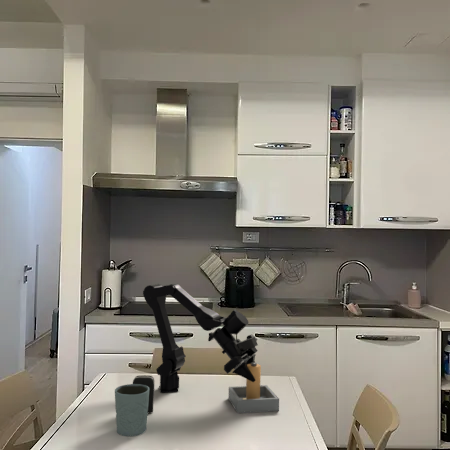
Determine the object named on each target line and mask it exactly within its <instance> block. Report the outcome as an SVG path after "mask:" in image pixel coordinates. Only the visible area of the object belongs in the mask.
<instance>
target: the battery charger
mask: <svg viewBox="0 0 450 450" xmlns="http://www.w3.org/2000/svg"><path fill="white" fill-rule="evenodd" d="M132 384H141V385H146V386H148V387H149V402H148V411H147V412H148V414H152V413H154V401H155V400H154V399H155V378H154V377H153V375H136V376H135V377H134V379H132Z"/></svg>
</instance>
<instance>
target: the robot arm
mask: <svg viewBox="0 0 450 450" xmlns="http://www.w3.org/2000/svg"><path fill="white" fill-rule="evenodd" d="M142 295H143V298H144V300H145V302H146V305H147V306H148V307H149V308H150V309H151V310H152V313H153V317H154V320H155V324H156V328H157V331H158V335H159V339H160V341H161V346H162V350H161V351H162V352H161V360H162V363H161V364H160V365H159V366H158V367H157V368H156V372H157V373H156V374H157V375H158V376H159V386H158V388H159V392H160V393H176V392H179V388H180V376H179V374H178V372H180V370H182V367H183V366H184V365H185V362H186V360H185V359H186V354H185V352H184V347H183V346H182V345H181V346H178V344H177V343H176V340H175V336H174V333H173V330H172V326H171V322H170V319H169V315H168V311H167V309H166V302H167V301H166V300H167V296H171V297H172V298H173V299H174V300H176V301H177V302H178V303H179V304H180V305H181V306H182V307H184V308H185V309H186V310H187V311H188V312H189V313H190V314H192V316H194V318H195V320H196V322H197V324H198V325H199V326H200V327H201V328H202V330H204V331H205V332H207V331H208V332H209V331H212V330H214V329H215V330H214V331H212V332H209V333H208V339H207V340H208V341H207V342H212V341H213V340H214V341H215V342H216V343H217V344H218V345H219V347H220V348H221V349H222V351H221V353H222V354H223V355H224V354H225V355H226V356H228V358H229V359H230V360H229V361H228V362H226V363H225V364H224V366H223V371H224V372H225V373H226V374H227V375H228V374H230V373H231V372H232V374H235V375H238V376H240V377H242V378H245V379H248V380H250V381H252V382H254V381H255V378H254V376H253V375H252V373H251V371H250V370H249V368H248V367H247V365H248V364H251V363H256V361H255V359H256V355H257V354H256V353H257V352H258V349H257V348H256V347H257V346H259V345H258V342H257V341H258V338H257V337H256V336H254V335H253V334H249V335H247V336H246V338H245V339H244V340H242V341H241V340H240V339H239V338H237V339H236V338H235V336H233V335H238V334H239V333H240V332H241V331H242V330H244V329H245V328H246V327H247V326H248V325H249V320H248V318H247V316H246V315H244V314H243V313H241V312H239V311H238V310H237V309H234V310H232V311H231V312H230V314H229V315H228V316H227V317H226V316H221V315H220V314H219V313H218V312H216V311H215V310H213V309H211V308H208V307H205V305H202V304H201V303H200V302H199V301H198V300H196V298H194V297H193V296H192V295H190V294H189V293H188V292H187V291H186V290H185V289H183V287H182V286H181V285H180V284H179V283H172V284H166V285H162V284H159V283H156V284H151V285H146V286H145V287H144V289H143V290H142ZM220 327H221V328H220ZM232 370H233V371H232Z"/></svg>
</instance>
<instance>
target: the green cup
mask: <svg viewBox="0 0 450 450" xmlns="http://www.w3.org/2000/svg"><path fill="white" fill-rule="evenodd" d="M114 400H115V401H114V402H115V420H116V421H115V424H116V432H117V434H118V435H120V436H123V437H136V436H137V437H138V436H141V435H143V434H144V433H145V432H146V431H147V427H148V424H147V423H148V414H149V413H148V412H147V411H148V402H149V387H148V386H146V385H141V384H133V383H129V384H128V383H127V384H123V385H119V386H117V387H116V388H114Z"/></svg>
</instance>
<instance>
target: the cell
mask: <svg viewBox="0 0 450 450" xmlns="http://www.w3.org/2000/svg"><path fill="white" fill-rule="evenodd" d="M247 367H248V368H249V370H250V371H251V373H252V375H253V376H254V378H255V381H254V382H252V381H250V380H248V379H246V378H245V379H246V380H245V381H246V382H245V383H246V385H245V386H246V399H260V385H261V377H262V376H261V375H262V374H261V372H262V371H261V370H262V365H260V364H259V363H257V362H255V363H251V364H248V365H247Z"/></svg>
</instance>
